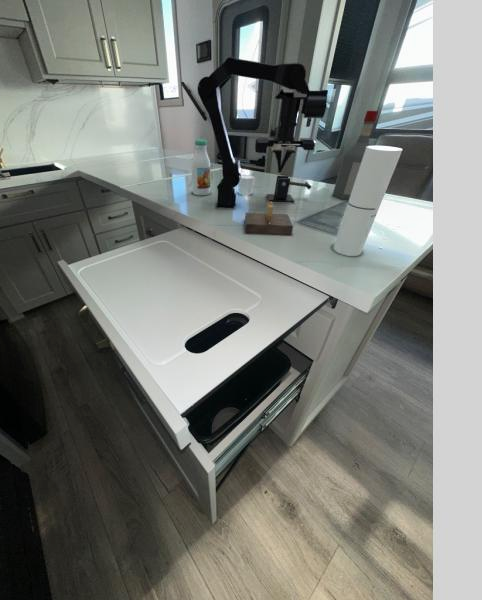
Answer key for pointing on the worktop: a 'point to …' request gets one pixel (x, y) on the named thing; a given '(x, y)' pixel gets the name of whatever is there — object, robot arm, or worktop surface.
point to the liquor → (353, 160)
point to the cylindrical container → (366, 198)
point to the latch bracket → (281, 190)
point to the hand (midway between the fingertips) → (279, 172)
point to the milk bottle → (201, 169)
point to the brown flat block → (268, 224)
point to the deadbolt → (269, 211)
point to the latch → (301, 184)
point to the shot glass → (246, 184)
